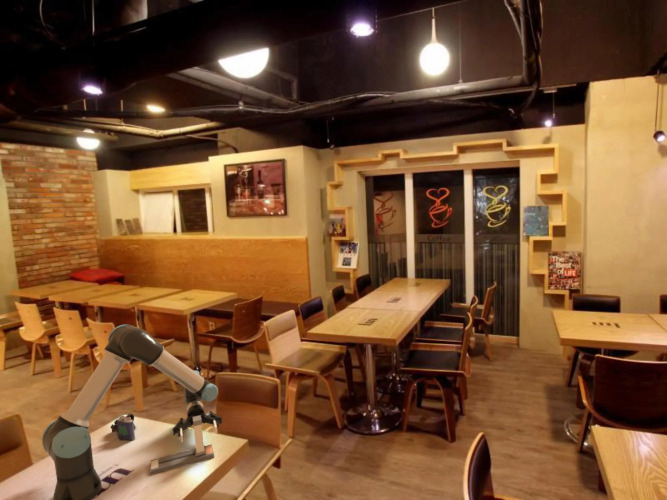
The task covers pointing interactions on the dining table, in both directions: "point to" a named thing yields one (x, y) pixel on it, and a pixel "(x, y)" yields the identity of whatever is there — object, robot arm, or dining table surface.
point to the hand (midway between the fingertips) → (199, 434)
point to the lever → (198, 436)
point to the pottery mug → (114, 427)
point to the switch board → (179, 459)
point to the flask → (125, 429)
